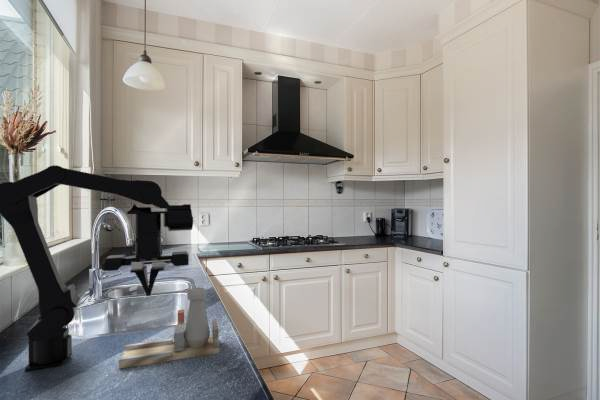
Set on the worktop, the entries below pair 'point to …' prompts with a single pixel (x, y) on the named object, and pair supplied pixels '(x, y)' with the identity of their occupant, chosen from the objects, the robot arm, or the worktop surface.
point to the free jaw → (179, 332)
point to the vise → (166, 351)
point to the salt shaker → (196, 319)
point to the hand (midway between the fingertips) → (148, 295)
